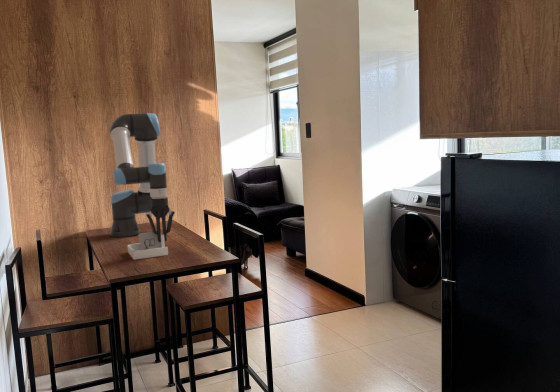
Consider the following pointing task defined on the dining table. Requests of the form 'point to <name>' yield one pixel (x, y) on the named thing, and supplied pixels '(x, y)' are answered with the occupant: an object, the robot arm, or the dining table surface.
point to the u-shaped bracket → (145, 251)
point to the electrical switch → (148, 241)
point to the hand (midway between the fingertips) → (162, 248)
